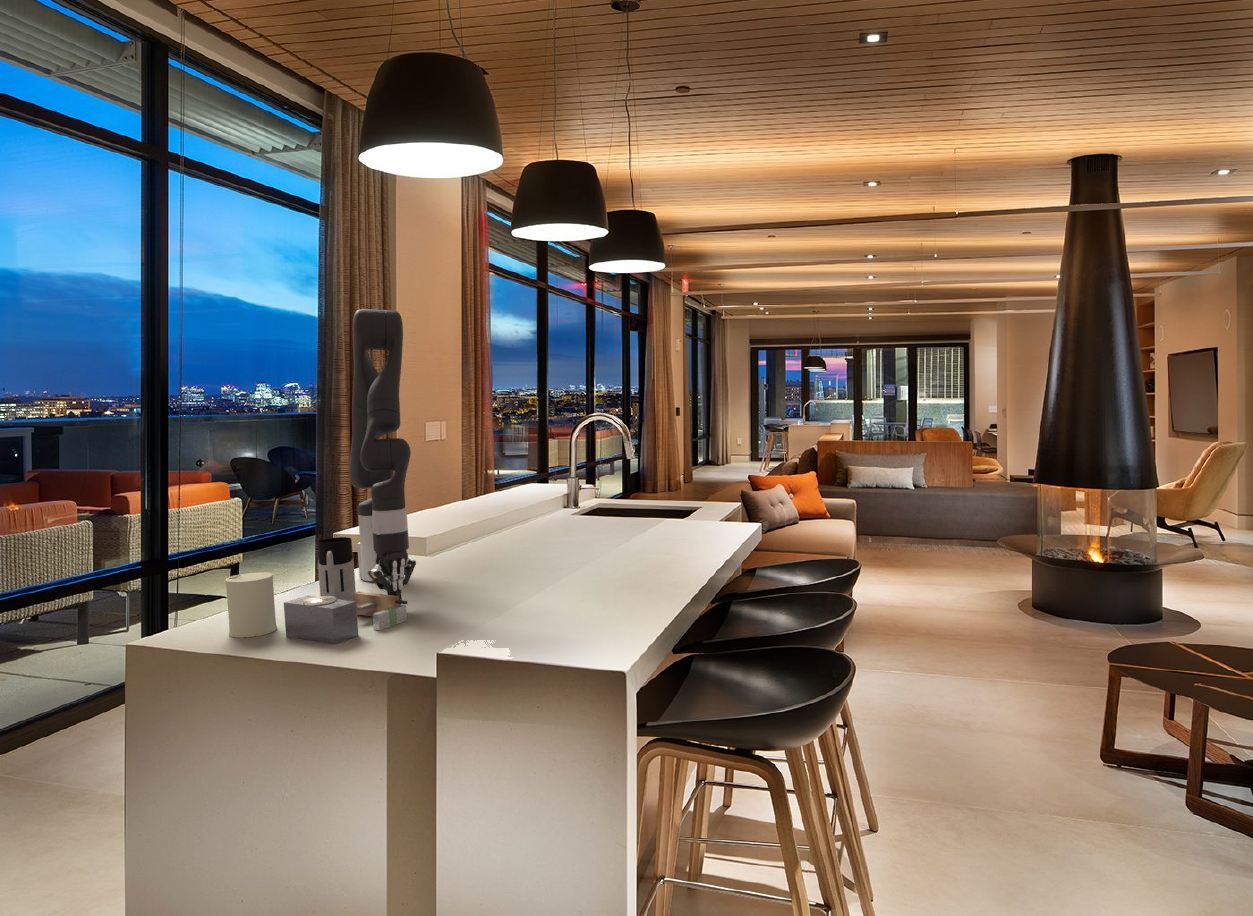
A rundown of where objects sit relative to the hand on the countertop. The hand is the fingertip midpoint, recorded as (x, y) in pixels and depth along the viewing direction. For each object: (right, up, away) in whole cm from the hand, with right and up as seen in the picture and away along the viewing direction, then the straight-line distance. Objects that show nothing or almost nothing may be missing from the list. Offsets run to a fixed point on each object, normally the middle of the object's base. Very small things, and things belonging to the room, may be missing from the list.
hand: (395, 606), depth 190 cm
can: (-26, -3, -12) cm, 29 cm away
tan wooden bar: (-3, -1, -7) cm, 7 cm away
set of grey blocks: (-6, -2, -12) cm, 14 cm away
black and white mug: (-15, -1, +7) cm, 17 cm away
